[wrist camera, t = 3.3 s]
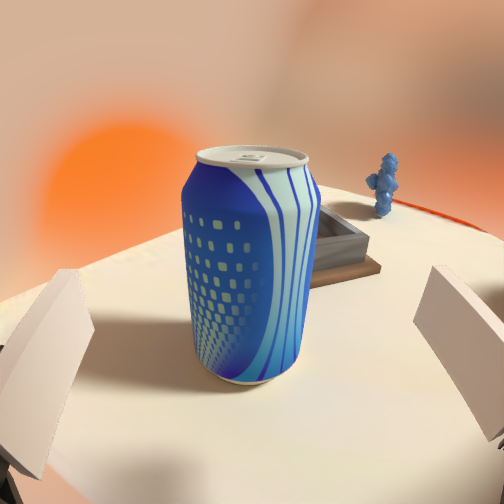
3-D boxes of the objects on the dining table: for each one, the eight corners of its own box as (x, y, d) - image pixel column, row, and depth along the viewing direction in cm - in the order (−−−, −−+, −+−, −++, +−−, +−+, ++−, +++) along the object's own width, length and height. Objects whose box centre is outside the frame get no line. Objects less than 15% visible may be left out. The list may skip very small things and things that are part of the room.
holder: (379, 272, 37) (387, 240, 35) (261, 298, 32) (263, 260, 30) (317, 224, 50) (320, 198, 48) (221, 236, 45) (221, 206, 43)
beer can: (179, 343, 26) (158, 151, 18) (256, 310, 30) (263, 140, 23) (233, 411, 20) (230, 175, 12) (318, 360, 24) (353, 161, 17)
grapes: (364, 201, 64) (371, 146, 58) (394, 207, 61) (402, 152, 56) (357, 217, 54) (366, 152, 49) (392, 225, 52) (403, 160, 46)
